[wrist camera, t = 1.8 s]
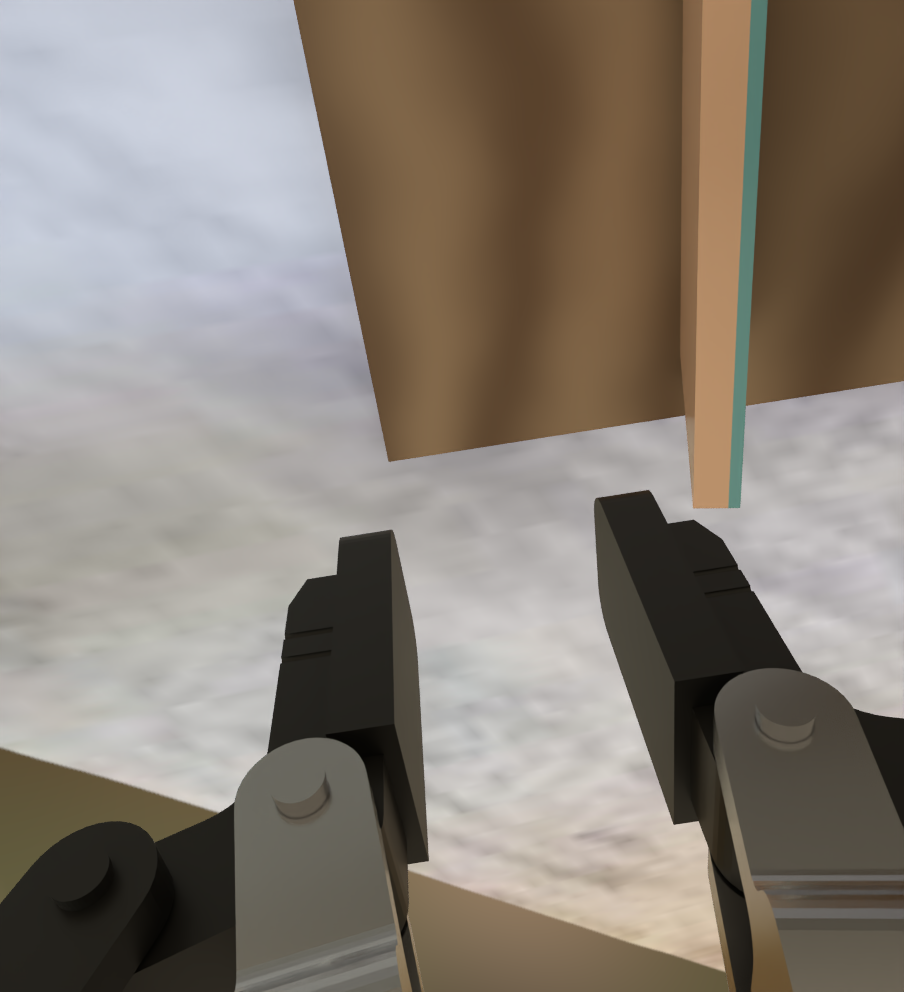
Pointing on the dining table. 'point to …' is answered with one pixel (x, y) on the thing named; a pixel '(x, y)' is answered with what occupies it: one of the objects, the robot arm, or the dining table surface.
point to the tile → (718, 233)
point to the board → (596, 207)
